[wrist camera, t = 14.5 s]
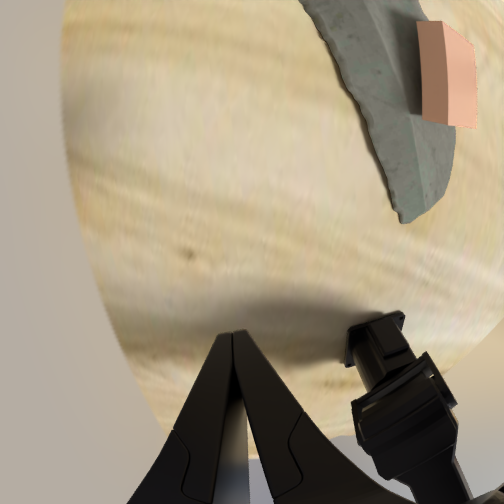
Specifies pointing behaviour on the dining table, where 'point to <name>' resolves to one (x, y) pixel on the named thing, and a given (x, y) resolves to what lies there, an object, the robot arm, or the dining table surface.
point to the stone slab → (390, 94)
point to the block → (447, 75)
